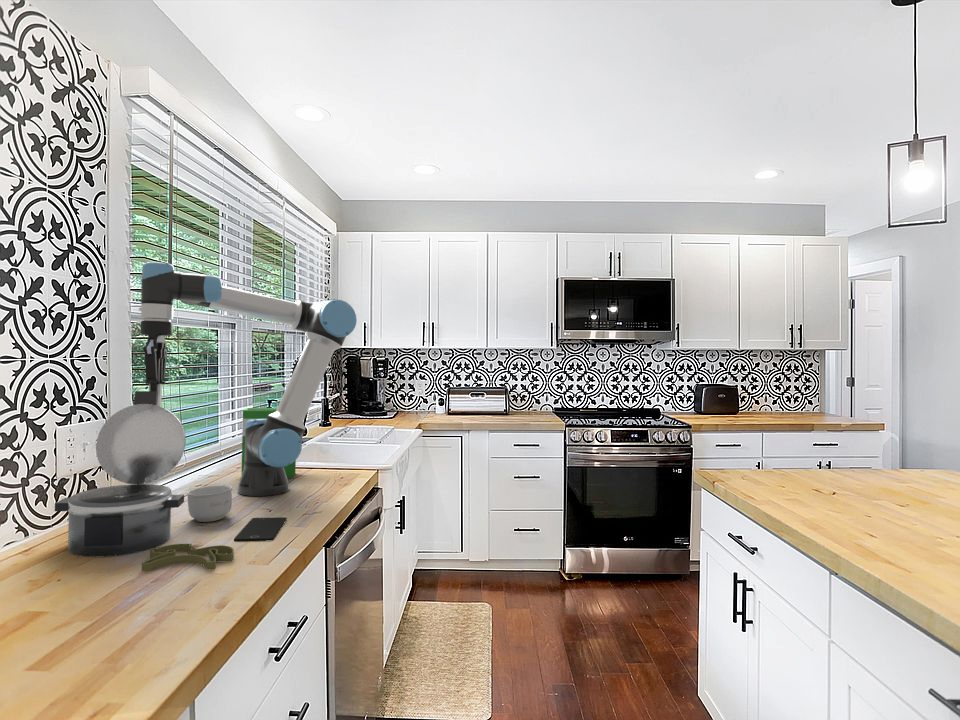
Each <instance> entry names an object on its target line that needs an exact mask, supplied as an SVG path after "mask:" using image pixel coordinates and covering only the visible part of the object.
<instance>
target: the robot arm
mask: <svg viewBox="0 0 960 720" xmlns="http://www.w3.org/2000/svg"><path fill="white" fill-rule="evenodd" d="M140 280H141V285H140V287H141V289H140V290H141V291H140V292H141V294H140V295H141V296H140V297H141V298H140V299H141V300H140V302H141V305H140V306H141V307H139V308H138V310H139V312H140V318H141V319H143V320H141V321H140V334H141V335H142V336H143V335H144V336H147V341H146V343H145V345H143V348H142V349H143V353H144V364H145V365H144V366H145V382H144V383H145V385H148V391H157V392H158V403H157V406H160V407H162V393H163V392H162V390H163V389H162V388H163V385H165V384H166V383H167V382H166V381H165V380H166V379H165V377H166V367H167V359H168V357H167V356H168V351H169V347H168V346H167V342H166V340H165V339H166V338H165V337H167V336H173V330H174V329H173V325H174V324H173V322H172V321H173V319H174V300H175V301H180V302H181V303H183V304H184V305H188V306H198V307H202V308H207V309H211V310H212V309H213V310H216V311H223V312H227V313H231V314H236V315H241V316H244V317H250V318H255V319H259V320H264V321H269V322H274V323H278V324H282V325H283V324H284V325H288V326H289V327H290V328H291V329H292V330H294V331H295V330H296V331H301V332H303V333H305V335H306V337H307V341H306V344H305V346H304V348H303V350H302V352H301V355H300V357H299V359H298V362H297V364H296V366H295V368H294V369H293V372H292V374H291V377H290V379H289V382H288V384H287V386H286V389H284V390H285V391H284V392H283V394H282V397H281V399H280V401H279V403H278V406H277V407H276V408H277V410H276V411H275V412H274V413H272V414H269V415H268V417H267V419H256V420H248V421H247V422H246V426H245V465H244V470H243V473H242V472H241V474H242V476H240V479H239V482H238V485H237V493H238V494H239V495H241V496H246V497H247V496H250V497H265V496H275V495H279V494H283V492H284V493H286V492H287V491H289V480H288V478H287V477H286V473H285V470H284V466H288V465H290V464H291V463H293V462H294V461H295V460H297V459H298V458H299V457H300V456H301V455H300V454H301V452H302V449H303V442H302V438H303V436H304V433H305V431H306V426H305V425H304V421H305V418H306V416H307V413H308V411H309V409H310V407H311V405H312V402H313V400H314V397H316V394H317V391H318V388H319V387H320V384H321V382H322V380H323V377H324V375H325V372H326V370H327V368H328V366H329V364H330V362H331V360H332V356H333V354H334V352H335V351H336V350H339V349H341V348H342V346H343V344H344V342H345V340H346V337H347V336H349V335H350V334H351V333H352V332H354V330H355V328H356V325H357V314H356V311H355V309H354V308H353V306H351V305H352V304H350V303H348V302H347V301H345V300H342V299H336V298H331V299H327V300H325V301H317V302H313V301H303V300H299V299H298V300H296V301H294V302H293V301H289V300H285V299H282V298H277V297H272V296H267V295H263V294H259V293H255V292H251V291H246V290H242V289H238V288H234V287H230V286H224V285H223V283H222V279H221V278H220V276H216V275H212V274H211V275H210V274H202V273H201V274H198V273H188V272H187V273H186V272H179V271H175V267H174V265H173V264H171V263H167V262H161V261H148V262H145V263H144V264H143V265H142V269H141V279H140Z"/></svg>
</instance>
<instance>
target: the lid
mask: <svg viewBox="0 0 960 720" xmlns="http://www.w3.org/2000/svg"><path fill="white" fill-rule="evenodd" d="M133 401H134V402H133V405H129V406H127V407H124V408H122V409H119V410H118V411H117V412H115V413H114V414H113V415H111V416H110V417H108V419H107V420H106V421H105V422H104V424H103V425H102V427H101V428H100V431H99V433H98V436H97V438H96V444H95V445H96V446H95V451H96V452H95V453H96V458H97V460H98V463H99V466H101V468H102V469H103V471H104V472H105V473H106V474H107V475H109V477H111V478H113V479H114V480H116V481H118V482H121V483H124V484H127V485H133V484H151V483H153V482H157V481H159V480H160V479H163V478H164V477H166V476H167V475H169V474H170V473H171V472H172V471H173V470H174V469H175V468H176V467H177V466H178V464H179V463H180V461H181V460H182V458H183V455H184V453H185V450H186V449H185V448H186V441H187V440H186V433H185V429H184V426H183V424H182V423H181V421H180V420H179V418H178V417H177V416H176V415H175V413H173V412H172V411H170V410H168V409H167V408H164V407H162V406H161V407H160V406H157V403H158V392H157V391H149V390H146V391H145V390H144V391H142V390H140V391H139V390H136V391H135V390H134V400H133Z"/></svg>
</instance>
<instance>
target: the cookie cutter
mask: <svg viewBox="0 0 960 720" xmlns="http://www.w3.org/2000/svg"><path fill="white" fill-rule="evenodd" d="M195 547H196V546H195V545H193V544H192V543H175V544H168V545H163V546H160V547H157V548H156V547H154V548H151V549H149V559H147V560H145V561H143V562H141V572H143V571H144V572H150V571H153V570H155V569H158V568H162V567H165V566H166V567H167V566H169V565H175V564H185V563H186V564H188V563H189V564H190V563H192V564H197V563H198V564H197V565H201V564H202V565H201V566H203V565H204V566H203V567H205V568H206V570H207V569H211V570H215V569H216V567H217V564H216V563H217V561H231V562H233V561H232V560H234V559H233V558H234V556H235V555H234V554H235V550H234V548H233V547H232V546H229V545H222V544H221V545H212V546H211V545H210V546H205V547H200V548H199V547H198V548H195ZM177 552H179V553H180V552H188V553H189V554H177ZM225 553H227V554H225ZM206 554H208V559H209V558H210V559H211V560H212V561H211V560H210V559H209V560H210V561H209V560H208V559H207V557H204V556H207V555H206Z"/></svg>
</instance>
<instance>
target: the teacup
mask: <svg viewBox="0 0 960 720" xmlns="http://www.w3.org/2000/svg"><path fill="white" fill-rule="evenodd" d="M232 490H233V487H232V486H231V485H226V484H223V483H222V484H217V485H207V486H206V485H205V486H201V487H197V488H194V489H190V490H188V491H187V492H186V495H187V509H188V513H189V515H190V517H192V518H193V519H195V521H197V522H200V523H201V522H202V523H207V522H208V523H209V522H210V523H211V522H216V521H219V520H222V519H224V518H225V517H227V515H228V514H229V513H230V512H231V510H232V505H233V496H232V495H233V494H232V493H233V491H232Z"/></svg>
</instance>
